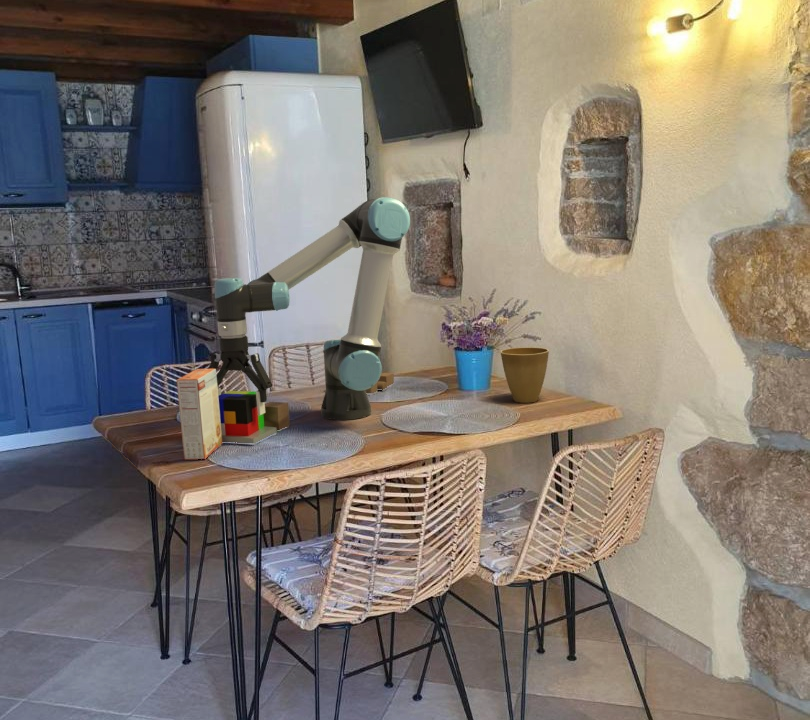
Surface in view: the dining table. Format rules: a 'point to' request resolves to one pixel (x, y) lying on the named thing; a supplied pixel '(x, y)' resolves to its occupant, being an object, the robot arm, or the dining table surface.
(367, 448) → the dining table surface
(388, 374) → the wooden block set
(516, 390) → the plant pot
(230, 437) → the slate tile
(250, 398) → the puzzle toy
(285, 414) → the walnut block
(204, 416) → the cracker box
